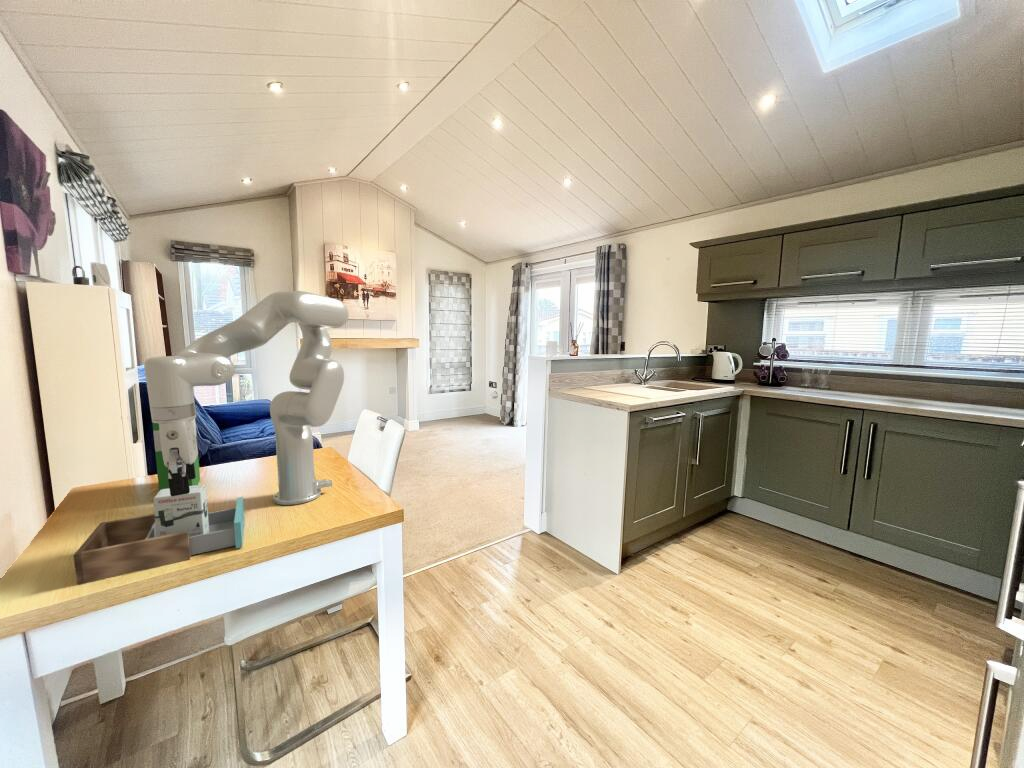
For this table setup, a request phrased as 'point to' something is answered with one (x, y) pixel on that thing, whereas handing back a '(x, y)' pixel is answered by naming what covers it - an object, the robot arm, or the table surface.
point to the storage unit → (127, 549)
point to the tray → (217, 530)
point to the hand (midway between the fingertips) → (184, 486)
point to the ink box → (181, 512)
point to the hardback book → (161, 468)
